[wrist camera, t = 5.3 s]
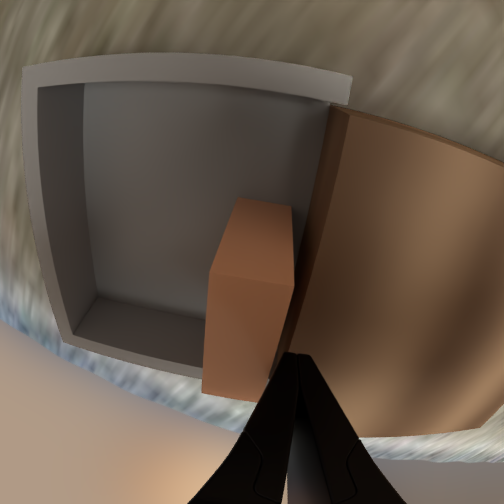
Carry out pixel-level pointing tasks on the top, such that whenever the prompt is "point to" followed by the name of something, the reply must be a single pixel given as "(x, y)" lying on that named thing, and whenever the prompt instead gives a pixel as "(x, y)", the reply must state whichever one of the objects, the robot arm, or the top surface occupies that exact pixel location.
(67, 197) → the box
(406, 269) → the walnut board
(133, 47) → the top surface
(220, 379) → the terracotta tile
